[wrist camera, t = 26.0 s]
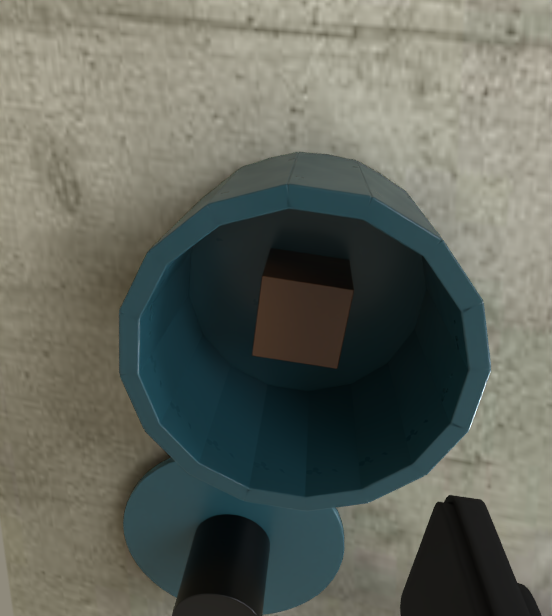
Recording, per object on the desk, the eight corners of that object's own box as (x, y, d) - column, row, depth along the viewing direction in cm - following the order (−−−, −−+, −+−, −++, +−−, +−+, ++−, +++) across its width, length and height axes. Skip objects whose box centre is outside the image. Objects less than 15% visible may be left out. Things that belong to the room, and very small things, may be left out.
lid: (128, 581, 37) (90, 680, 31) (129, 423, 31) (82, 507, 25) (323, 614, 37) (323, 720, 31) (363, 461, 31) (374, 555, 25)
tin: (172, 376, 29) (118, 481, 22) (184, 132, 24) (117, 158, 16) (403, 412, 29) (432, 532, 21) (471, 175, 23) (546, 221, 16)
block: (261, 318, 27) (251, 355, 23) (270, 247, 25) (261, 275, 21) (335, 330, 27) (337, 369, 23) (349, 259, 25) (354, 289, 21)
